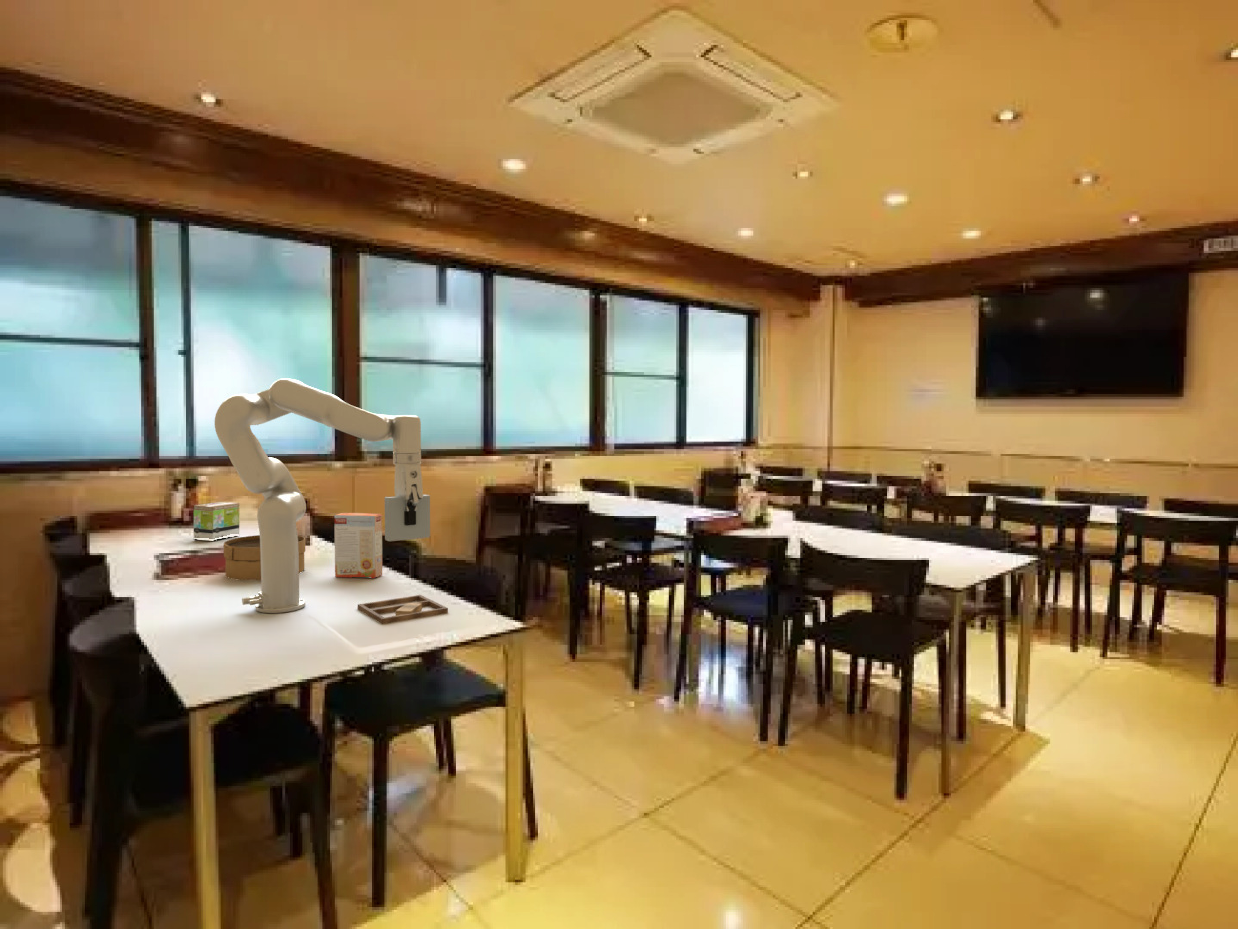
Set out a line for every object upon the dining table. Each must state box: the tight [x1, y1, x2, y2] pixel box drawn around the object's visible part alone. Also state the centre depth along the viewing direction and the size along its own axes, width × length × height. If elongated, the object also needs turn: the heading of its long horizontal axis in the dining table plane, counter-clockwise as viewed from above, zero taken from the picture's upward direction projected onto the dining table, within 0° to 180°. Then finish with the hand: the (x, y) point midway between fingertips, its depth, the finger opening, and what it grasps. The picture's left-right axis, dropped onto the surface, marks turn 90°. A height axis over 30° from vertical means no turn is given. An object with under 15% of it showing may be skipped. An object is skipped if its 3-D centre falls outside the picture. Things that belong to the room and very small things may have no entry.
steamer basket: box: [223, 534, 306, 581], centre depth 247 cm, size 25×25×11 cm
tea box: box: [193, 501, 240, 539], centre depth 308 cm, size 15×10×15 cm, turn 167°
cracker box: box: [333, 512, 383, 579], centre depth 242 cm, size 14×6×21 cm, turn 84°
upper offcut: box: [395, 602, 423, 616], centre depth 195 cm, size 8×4×2 cm, turn 174°
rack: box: [357, 594, 449, 625], centre depth 198 cm, size 18×18×2 cm
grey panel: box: [384, 494, 431, 542], centre depth 207 cm, size 12×3×12 cm, turn 127°
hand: (407, 523), depth 207 cm, fingers closed on grey panel, 3 cm apart
